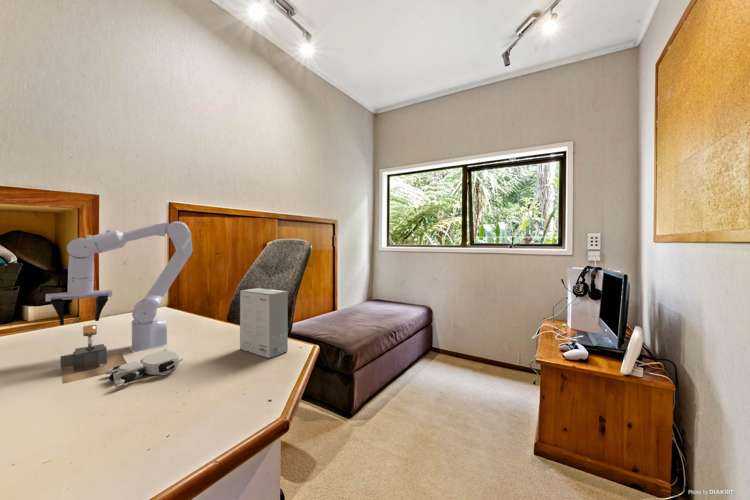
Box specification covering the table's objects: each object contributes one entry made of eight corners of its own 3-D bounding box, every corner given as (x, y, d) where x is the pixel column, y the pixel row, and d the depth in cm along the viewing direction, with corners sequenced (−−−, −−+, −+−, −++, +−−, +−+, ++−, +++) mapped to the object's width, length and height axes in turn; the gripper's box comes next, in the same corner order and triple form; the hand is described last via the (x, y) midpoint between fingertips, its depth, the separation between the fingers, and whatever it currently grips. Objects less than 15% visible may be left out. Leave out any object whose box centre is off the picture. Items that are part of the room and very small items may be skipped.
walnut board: (120, 353, 97) (120, 351, 97) (129, 370, 84) (129, 368, 84) (62, 364, 88) (62, 363, 88) (62, 385, 75) (62, 383, 75)
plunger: (100, 347, 89) (100, 323, 89) (102, 351, 86) (102, 326, 86) (77, 351, 86) (77, 326, 86) (78, 356, 83) (78, 329, 82)
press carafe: (105, 359, 91) (105, 343, 91) (108, 365, 86) (107, 348, 86) (60, 367, 84) (60, 350, 84) (60, 375, 79) (60, 357, 79)
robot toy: (117, 396, 72) (186, 371, 84) (115, 378, 72) (185, 355, 83) (104, 382, 79) (169, 360, 91) (102, 365, 79) (168, 346, 91)
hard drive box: (288, 351, 100) (288, 291, 100) (269, 359, 93) (269, 294, 93) (258, 343, 108) (258, 287, 108) (238, 349, 102) (238, 289, 101)
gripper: (110, 275, 101) (108, 316, 101) (45, 277, 90) (44, 323, 90) (114, 277, 96) (112, 320, 96) (46, 280, 86) (45, 328, 86)
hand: (79, 322), depth 93 cm, fingers open, 7 cm apart
